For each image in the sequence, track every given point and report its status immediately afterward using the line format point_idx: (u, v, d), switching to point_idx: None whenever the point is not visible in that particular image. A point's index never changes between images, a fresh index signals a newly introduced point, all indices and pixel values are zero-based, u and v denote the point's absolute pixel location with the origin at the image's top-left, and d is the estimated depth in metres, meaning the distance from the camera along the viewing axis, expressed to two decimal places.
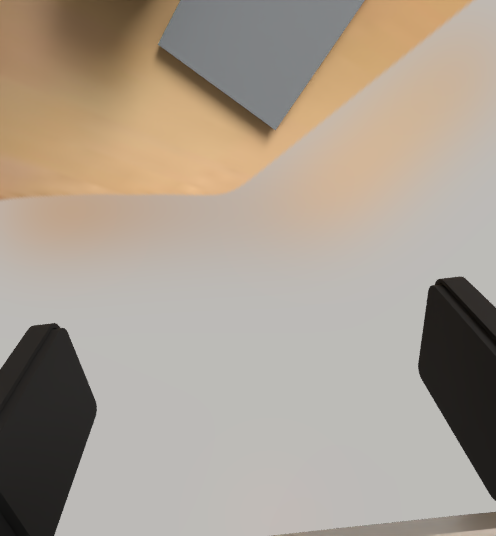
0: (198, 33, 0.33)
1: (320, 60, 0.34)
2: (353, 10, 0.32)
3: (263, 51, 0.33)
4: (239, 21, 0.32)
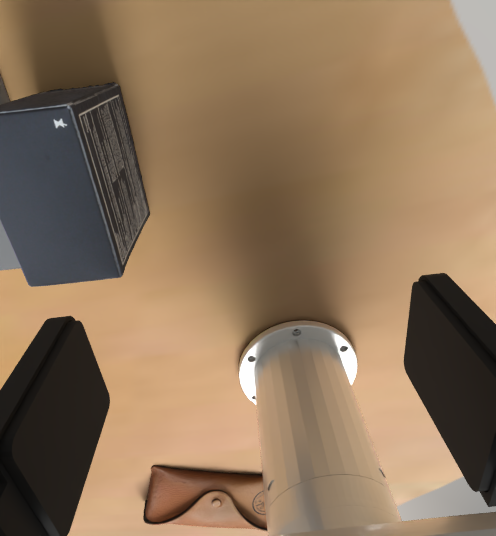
0: None
1: None
2: None
3: None
4: None
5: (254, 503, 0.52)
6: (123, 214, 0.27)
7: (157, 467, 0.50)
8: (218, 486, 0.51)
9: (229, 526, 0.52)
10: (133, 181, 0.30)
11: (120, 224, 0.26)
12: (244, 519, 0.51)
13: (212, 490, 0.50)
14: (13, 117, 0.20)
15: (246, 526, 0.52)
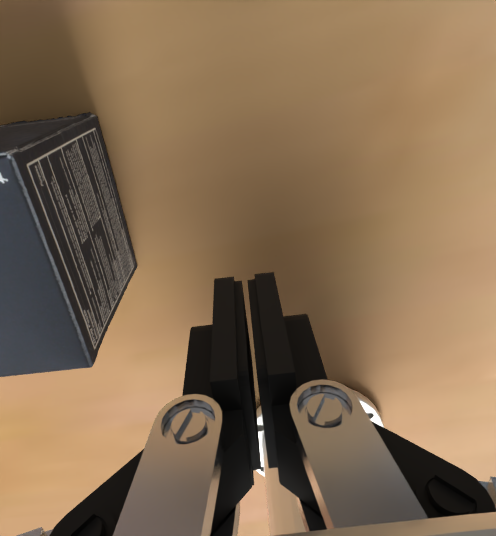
0: None
1: None
2: None
3: None
4: None
5: None
6: (97, 281, 0.21)
7: None
8: None
9: None
10: (114, 232, 0.24)
11: (92, 296, 0.20)
12: None
13: None
14: None
15: None
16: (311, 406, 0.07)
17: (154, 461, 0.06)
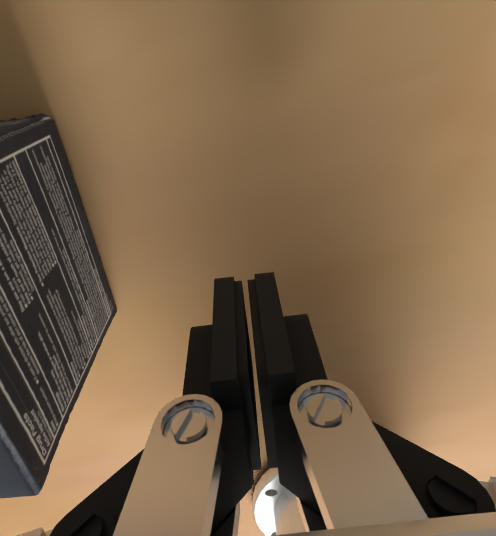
0: None
1: None
2: None
3: None
4: None
5: None
6: (50, 358, 0.15)
7: None
8: None
9: None
10: (80, 276, 0.18)
11: (40, 386, 0.14)
12: None
13: None
14: None
15: None
16: (311, 406, 0.07)
17: (154, 461, 0.06)
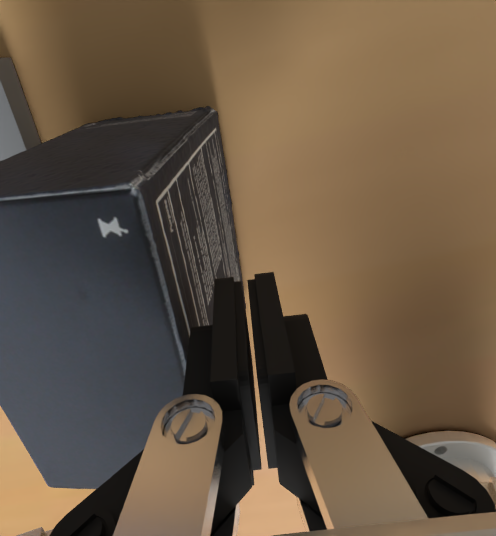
0: None
1: None
2: None
3: None
4: None
5: None
6: None
7: None
8: None
9: None
10: (231, 271, 0.18)
11: None
12: None
13: None
14: (7, 212, 0.09)
15: None
16: (311, 406, 0.07)
17: (154, 461, 0.06)
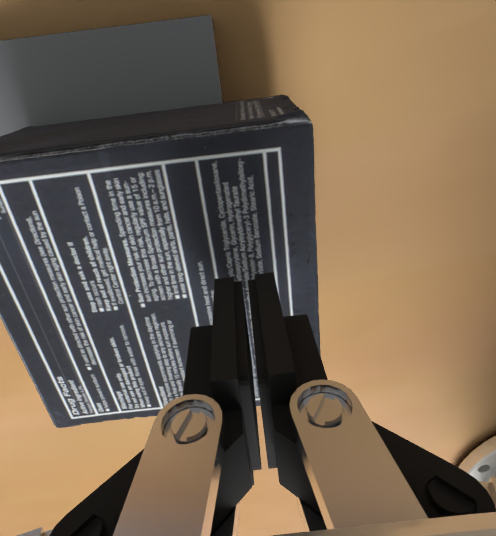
0: (161, 98, 0.16)
1: None
2: None
3: None
4: None
5: None
6: (121, 364, 0.14)
7: None
8: None
9: None
10: None
11: (91, 373, 0.14)
12: None
13: None
14: None
15: None
16: (311, 406, 0.07)
17: (154, 461, 0.06)
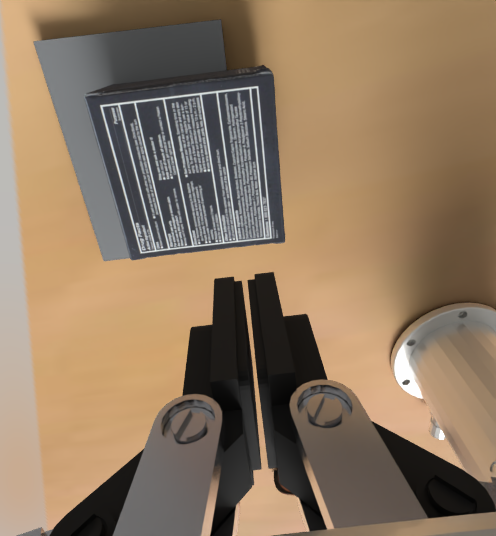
0: (191, 68, 0.27)
1: (70, 147, 0.29)
2: (89, 204, 0.31)
3: None
4: None
5: None
6: (172, 214, 0.25)
7: None
8: None
9: None
10: (237, 192, 0.25)
11: (155, 220, 0.25)
12: None
13: None
14: None
15: None
16: (311, 406, 0.07)
17: (154, 461, 0.06)
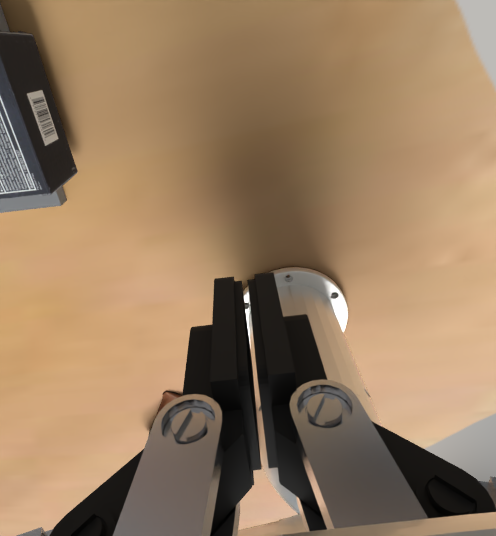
0: None
1: None
2: None
3: None
4: None
5: None
6: None
7: (169, 393, 0.49)
8: None
9: None
10: None
11: None
12: None
13: None
14: None
15: None
16: (311, 406, 0.07)
17: (154, 461, 0.06)
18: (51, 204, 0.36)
